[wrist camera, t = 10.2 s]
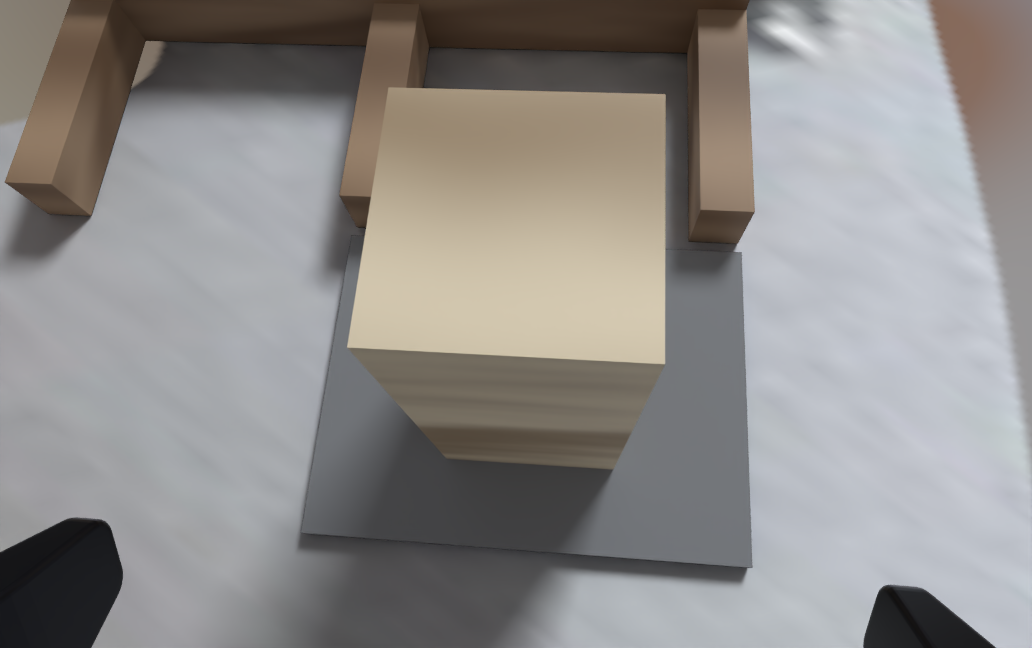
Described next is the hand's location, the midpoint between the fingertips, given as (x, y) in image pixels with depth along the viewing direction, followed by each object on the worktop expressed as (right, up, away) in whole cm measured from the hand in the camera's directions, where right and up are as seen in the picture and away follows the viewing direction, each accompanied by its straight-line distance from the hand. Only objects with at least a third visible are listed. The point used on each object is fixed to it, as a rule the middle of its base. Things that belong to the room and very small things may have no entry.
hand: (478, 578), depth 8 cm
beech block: (+1, +1, +12) cm, 12 cm away
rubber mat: (+1, +1, +12) cm, 13 cm away
